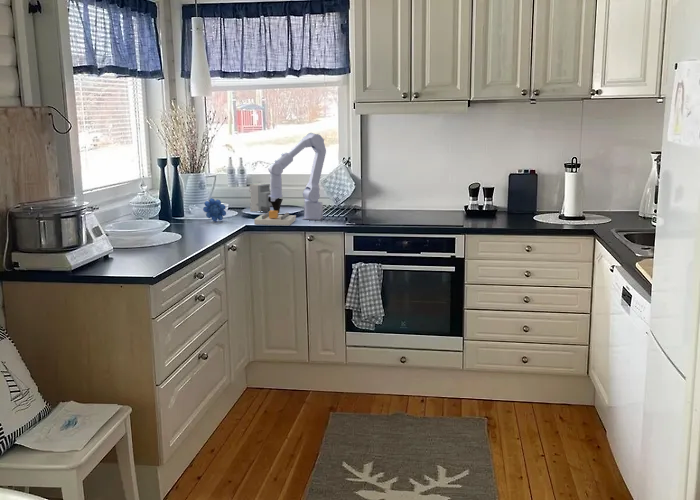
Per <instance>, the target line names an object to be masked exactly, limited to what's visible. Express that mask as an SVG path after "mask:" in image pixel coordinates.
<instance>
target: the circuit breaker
mask: <svg viewBox="0 0 700 500" xmlns="http://www.w3.org/2000/svg"><path fill="white" fill-rule="evenodd" d="M248 189H249V193H250V203H249V209H250V210H249V211H250V212H252V211H260V212H261V211H267V212H269V211H268V210H271V207H273V206H272V203H271V202H270V200H271V197H268V195H271V187H270V183H266V182H265V183H263V182H258V183H251V184H249V188H248Z"/></svg>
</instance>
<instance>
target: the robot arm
mask: <svg viewBox="0 0 700 500" xmlns="http://www.w3.org/2000/svg"><path fill="white" fill-rule="evenodd" d="M306 148H311V149H312V150H313V151H314V153H315V154H314V159H313V162H312V165H311V170H310V171H311V172H310V175H309V179H308V181H307V184H306V185H305V188H304V189H303V191H302V197H303V199H304V202H303V203H304V217H302V220H315V221H316V220H319V221H320V220H322V219H323V218H324V212H323V211H324V209H323V208H324V207H323V201H319V199H320V195H321V194H320V185H319V183H320V181H321V180H320V179H321V175H322V171H323V167H324V163H325V158H326V155H327V148H326V146H325V139H324V138H323V137H322V135H321V134H319V133H313V132H309V133H308V134H306V135H305V136H303V137H302V139H301V140H299V142H298V143H297V144H296V145H295V146H294V147H292V148H291V150H290V151H289V152H284V153H283V152H282V154H280V155H281V156H280V157H279V158H278V159H275V160H274V162H273V163H271V164H270V165H269V166H268V172H269V175H270V178H269V179H270V180H269V184H270V191H271V195H268V197H271V200H270V202H271V203H272V206H271V207H272V210H278V214H279V213H280V209H281V205H282V202H283V192H282V191H283V187H282V174H283V172H284V170H285V169H286V168H287V167H288V166H289V165H290V164H291V163H292V162H293V161H294V157H296V156H297V155H299V153H300V152H301V151H303V150H304V149H306Z"/></svg>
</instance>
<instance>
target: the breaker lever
mask: <svg viewBox="0 0 700 500" xmlns="http://www.w3.org/2000/svg"><path fill="white" fill-rule="evenodd" d="M268 212H269V218H278V215H279V213H278V210H274V209H270V211H268Z"/></svg>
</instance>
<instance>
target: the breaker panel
mask: <svg viewBox="0 0 700 500" xmlns="http://www.w3.org/2000/svg"><path fill="white" fill-rule="evenodd" d="M296 217H297V215H295V214H294V215H292V214H290V212H288V211H287V212H285V213H284V214H278V218H269V211H267V212H265V214H260V215H259V216H257V217H256V218H254V225H265V226H268V225H269V226H290V225H292V224H293V223H294V222H295V221H296V220H297V218H296Z"/></svg>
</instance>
